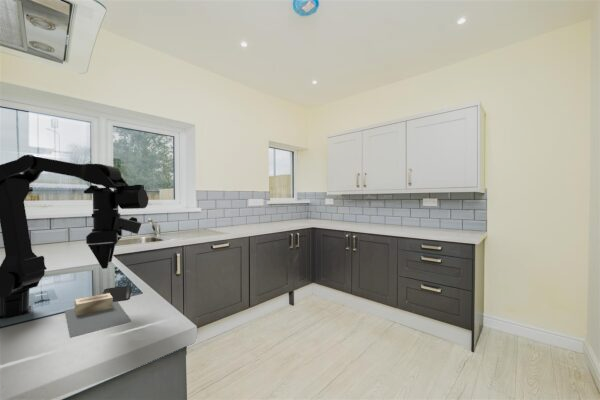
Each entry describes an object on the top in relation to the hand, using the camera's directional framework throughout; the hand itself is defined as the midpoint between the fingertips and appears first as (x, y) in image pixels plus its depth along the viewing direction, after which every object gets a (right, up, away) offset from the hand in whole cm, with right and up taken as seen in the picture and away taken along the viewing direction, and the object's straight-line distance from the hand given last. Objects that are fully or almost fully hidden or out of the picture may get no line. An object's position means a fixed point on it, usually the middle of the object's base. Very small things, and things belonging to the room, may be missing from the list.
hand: (107, 265), depth 73 cm
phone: (-7, -14, +13) cm, 20 cm away
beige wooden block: (-5, -13, +1) cm, 14 cm away
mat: (0, -13, -3) cm, 14 cm away
